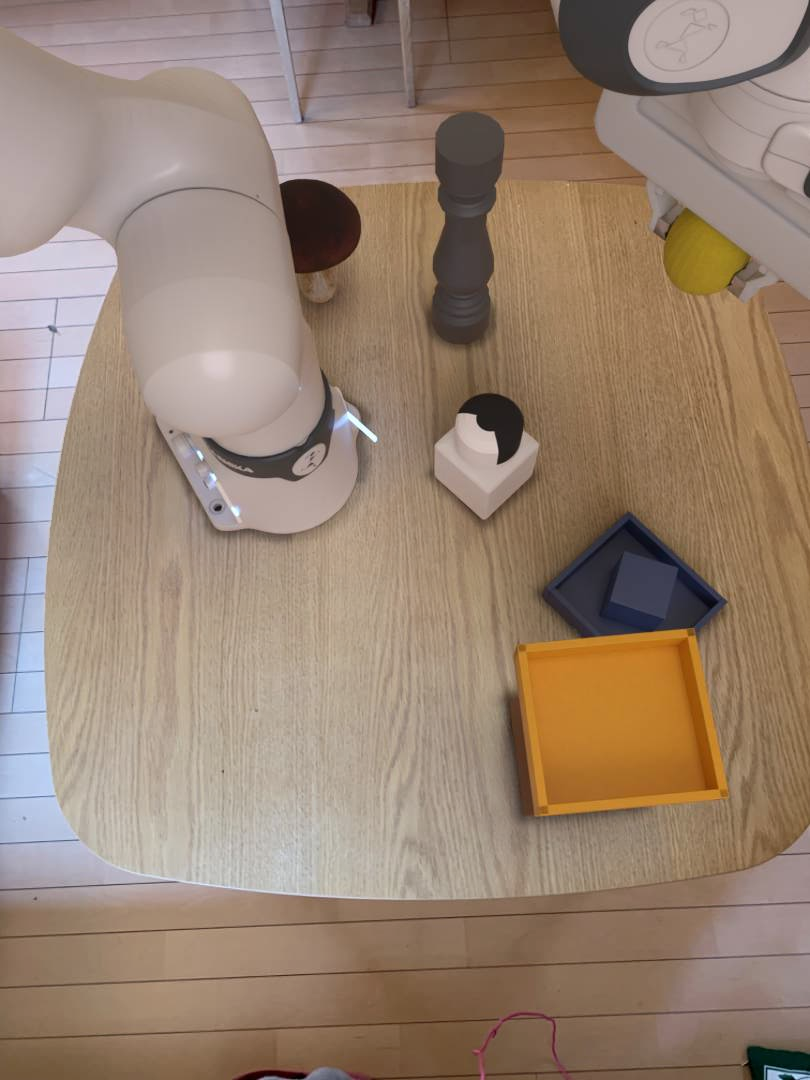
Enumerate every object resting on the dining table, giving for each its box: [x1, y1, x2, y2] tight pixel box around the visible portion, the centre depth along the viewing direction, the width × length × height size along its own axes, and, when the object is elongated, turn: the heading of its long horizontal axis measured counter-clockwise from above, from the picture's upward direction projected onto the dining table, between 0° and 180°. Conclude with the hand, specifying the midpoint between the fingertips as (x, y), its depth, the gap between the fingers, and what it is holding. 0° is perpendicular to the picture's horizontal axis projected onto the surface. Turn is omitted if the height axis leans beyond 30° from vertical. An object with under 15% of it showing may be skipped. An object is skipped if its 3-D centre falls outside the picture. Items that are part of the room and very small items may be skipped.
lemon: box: [662, 207, 752, 297], centre depth 56 cm, size 6×6×8 cm
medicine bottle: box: [433, 392, 540, 521], centre depth 80 cm, size 7×7×12 cm
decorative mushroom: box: [279, 178, 362, 304], centre depth 87 cm, size 11×11×15 cm
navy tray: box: [541, 510, 729, 638], centre depth 79 cm, size 12×11×3 cm
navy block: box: [600, 551, 678, 632], centre depth 78 cm, size 5×5×5 cm
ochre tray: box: [508, 628, 730, 818], centre depth 66 cm, size 12×11×21 cm
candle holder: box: [431, 111, 505, 345], centre depth 80 cm, size 6×6×25 cm
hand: (702, 260), depth 57 cm, fingers closed on lemon, 5 cm apart
